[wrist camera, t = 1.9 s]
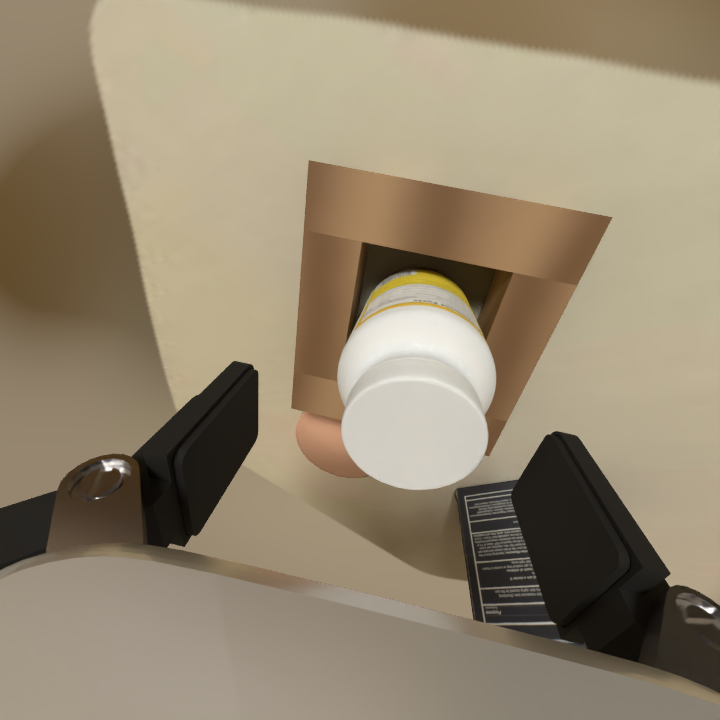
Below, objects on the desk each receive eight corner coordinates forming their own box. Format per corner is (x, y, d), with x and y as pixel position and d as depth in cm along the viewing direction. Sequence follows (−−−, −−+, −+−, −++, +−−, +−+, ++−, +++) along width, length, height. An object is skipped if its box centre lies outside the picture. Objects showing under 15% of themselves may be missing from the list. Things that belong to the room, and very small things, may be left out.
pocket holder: (581, 212, 16) (612, 217, 13) (481, 426, 23) (488, 456, 21) (326, 164, 17) (308, 160, 14) (305, 384, 24) (291, 408, 21)
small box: (472, 535, 29) (495, 692, 20) (453, 486, 27) (469, 640, 18) (604, 522, 26) (705, 705, 17) (596, 466, 23) (710, 644, 14)
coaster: (403, 410, 24) (403, 415, 23) (382, 481, 28) (382, 486, 27) (302, 386, 24) (299, 390, 24) (295, 459, 28) (293, 464, 28)
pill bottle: (408, 376, 22) (398, 530, 12) (345, 310, 21) (274, 423, 11) (490, 321, 19) (565, 462, 9) (424, 239, 18) (430, 302, 8)
